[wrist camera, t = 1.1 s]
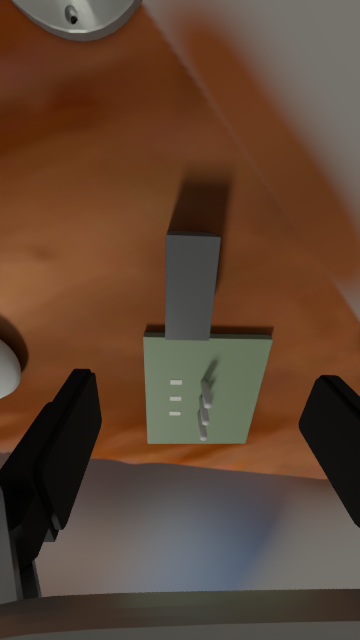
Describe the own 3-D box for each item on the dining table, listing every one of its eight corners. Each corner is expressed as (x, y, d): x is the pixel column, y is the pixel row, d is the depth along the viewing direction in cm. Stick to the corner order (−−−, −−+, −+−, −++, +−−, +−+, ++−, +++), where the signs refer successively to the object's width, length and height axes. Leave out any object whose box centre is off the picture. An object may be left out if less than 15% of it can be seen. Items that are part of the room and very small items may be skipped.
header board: (144, 332, 27) (138, 356, 23) (269, 334, 28) (288, 359, 23) (148, 436, 36) (144, 469, 32) (243, 436, 37) (253, 469, 32)
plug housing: (167, 230, 22) (166, 234, 18) (211, 232, 22) (221, 237, 18) (166, 318, 27) (165, 339, 22) (203, 319, 27) (209, 340, 22)
